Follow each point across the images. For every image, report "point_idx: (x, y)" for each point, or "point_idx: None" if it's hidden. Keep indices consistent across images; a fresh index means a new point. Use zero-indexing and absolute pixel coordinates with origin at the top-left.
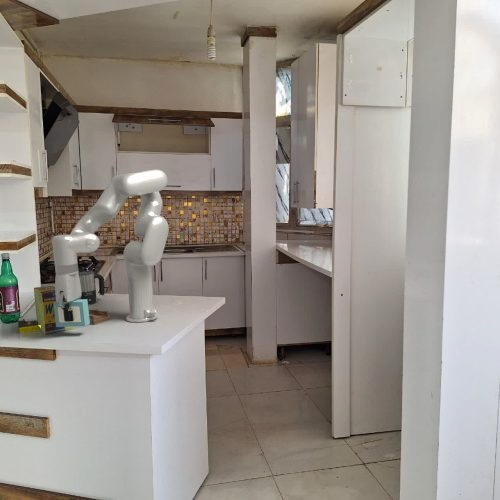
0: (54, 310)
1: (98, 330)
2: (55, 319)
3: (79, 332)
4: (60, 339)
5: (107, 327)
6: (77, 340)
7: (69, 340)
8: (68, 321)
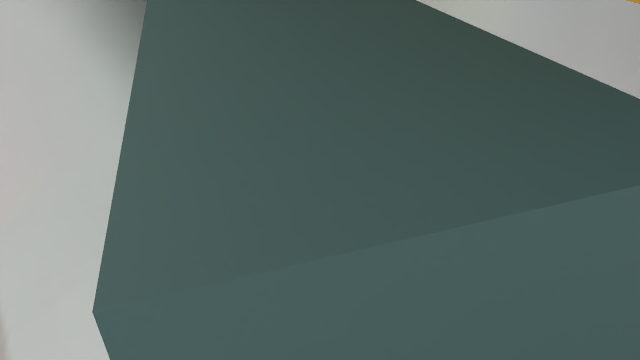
0: (131, 114)
1: None
2: (141, 34)
3: None
4: (40, 130)
5: None
6: (78, 350)
7: (46, 271)
8: None
